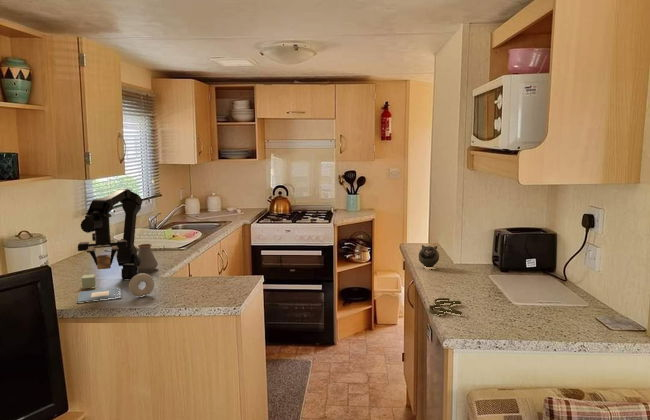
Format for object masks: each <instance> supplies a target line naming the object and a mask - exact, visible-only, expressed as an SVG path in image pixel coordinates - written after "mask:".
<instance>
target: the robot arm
mask: <svg viewBox="0 0 650 420" xmlns="http://www.w3.org/2000/svg"><path fill="white" fill-rule="evenodd" d="M118 203H121V204H122V205H121V208H122V210H123V212H124V222H123V223H124V226H123V235H122V239H123V240H121V239H117V240H116V242H111V241H112V239H111V227H110V218H112V214H110V213H111V211H112V210H113V209H114V206H115V205H117V204H118ZM142 205H143V199H142V197H141V196H140V195H139V194H137V193H135V192H133V191H131V189H130V188H118V189H117V190H116V191H114V192H113V193H110V194H109V195H107V196H104V197H99V198H94V199H92V200H91V202H90V204H89V206H88V210H87V213H86V215H85V216H84V219H83V220H82V221H81V222H80V228H81V230H82V231H83V232H84V233H87V234H89V233H92V235H91V236H92V237H91V239H92V241H93V242H95V243H90V242H89V241H84V242H83V241H81V242H79V243H78V244H77V252H85V251H86V253H89V254H90V256H91V257H92V259H93V261H94V263H95V266H96V267H97V253H96V249H97V248H100V249H101V248H111V249H110V250H111V252H110V258H111V259H110V264H111V265H112V264H113V261H114V257H115V255H116V260H117V265H118V267H122V268H121V279H122V280H123V279H132V278H133V277H134V276H135V275H137V274H138V270H137V266H140V264H141V259H140V258H139V257H138V250H137V249H136V248H135V247H136V246H135V234H136V224H137V215H138V213H139V212H140V210H141V209H142Z"/></svg>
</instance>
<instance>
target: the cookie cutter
mask: <svg viewBox="0 0 650 420" xmlns="http://www.w3.org/2000/svg"><path fill="white" fill-rule="evenodd" d="M437 300H448V301H440V302H438V303H437V302H436V301H437ZM453 302H455V303H453ZM434 303H435V304H436V305H434ZM434 303H433V305H429V306H428V307H429V308H428V309H429V313H430V314H432V315H434V314H437V315H439V314H444V312H446V311H447V312H451V313H455V314H460V315H461V314H462V315H463V311H460V310H457V309H455V308H453V307H452V308H451V307H450V306H451V305H453V304H461V305H462V301H461V300H451V299H450V298H448V297H438V298H435V299H434ZM444 303H451V304H450V305H448V308H445V307H441V306H440V304H444ZM435 307H440V308H439V309H438V310H436V309H434V310H432V309H433V308H435ZM449 309H451V310H452V311H451V310H449ZM439 311H443V312H439ZM437 315H436V316H437ZM434 316H435V315H434Z"/></svg>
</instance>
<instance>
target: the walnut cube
mask: <svg viewBox="0 0 650 420" xmlns="http://www.w3.org/2000/svg"><path fill="white" fill-rule="evenodd" d="M96 256H97V266H96V268H97V269H96V270H107V269H111V267H112V266H111V264H110V259H111V254H100V255H99V254H98V255H97V254H96Z"/></svg>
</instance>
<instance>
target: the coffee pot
mask: <svg viewBox="0 0 650 420" xmlns="http://www.w3.org/2000/svg"><path fill="white" fill-rule="evenodd" d="M120 240H123V238H121V239H120ZM152 246H153V245H152V244H151V243H143V244H141V243H140V244H139V245H137V247H136V246H135V248H136V250H137V255H138V257H139V258H140V259H141V264H140V266H137V273H138V272H139V273H150V272H153V271H155V269H157V267H158V265H159V263H158V261H157V259H156V257H155V255H154V254H153V253H154V252H153V251H152V249H151V247H152Z"/></svg>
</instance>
